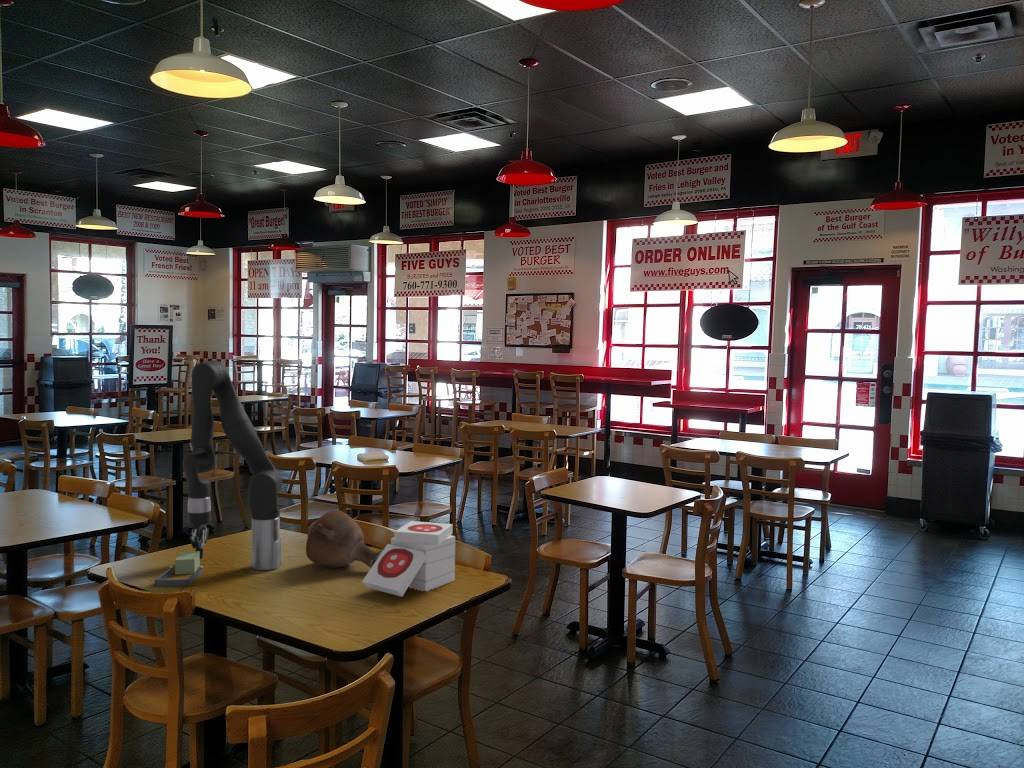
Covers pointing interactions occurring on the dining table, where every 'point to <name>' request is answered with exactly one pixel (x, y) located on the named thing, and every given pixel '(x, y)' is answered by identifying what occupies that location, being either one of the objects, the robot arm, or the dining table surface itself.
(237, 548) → the dining table surface
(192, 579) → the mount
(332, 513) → the jug
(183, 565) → the pale green block
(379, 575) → the pizza boxes
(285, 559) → the dining table surface
